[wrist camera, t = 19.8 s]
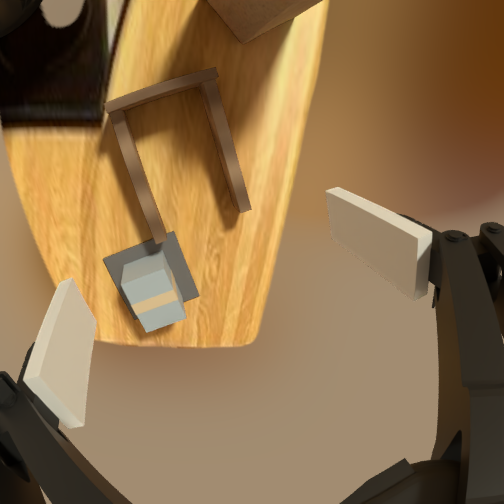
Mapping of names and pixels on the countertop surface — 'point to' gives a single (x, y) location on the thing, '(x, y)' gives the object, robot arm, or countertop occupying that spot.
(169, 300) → the block
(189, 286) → the mat
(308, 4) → the wooden block
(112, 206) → the countertop surface
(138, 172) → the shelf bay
